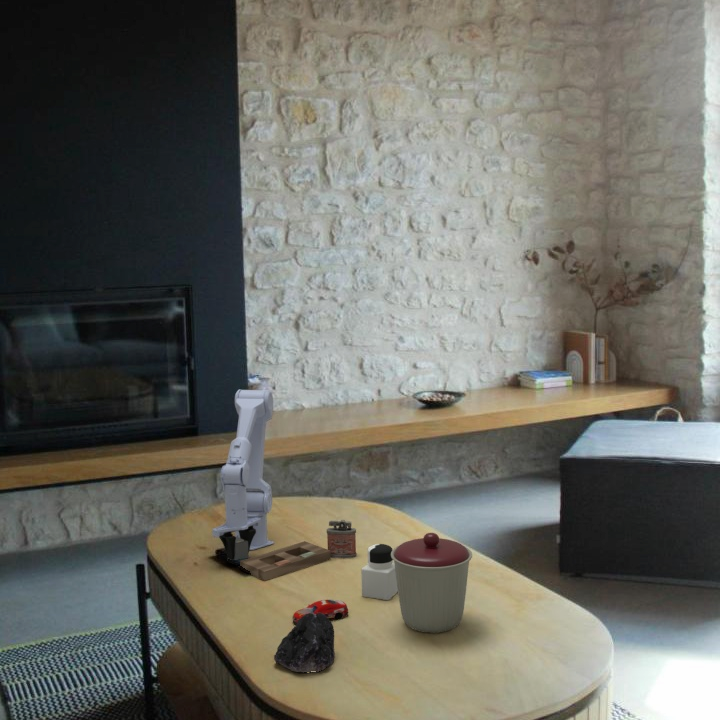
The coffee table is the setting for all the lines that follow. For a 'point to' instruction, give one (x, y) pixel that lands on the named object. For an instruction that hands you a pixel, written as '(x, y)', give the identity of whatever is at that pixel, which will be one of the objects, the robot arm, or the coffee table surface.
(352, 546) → the lighter
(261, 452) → the robot arm
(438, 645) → the coffee table surface
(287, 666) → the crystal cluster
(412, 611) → the canister
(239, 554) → the plug
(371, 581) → the medicine bottle
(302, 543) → the socket board
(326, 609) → the race car
